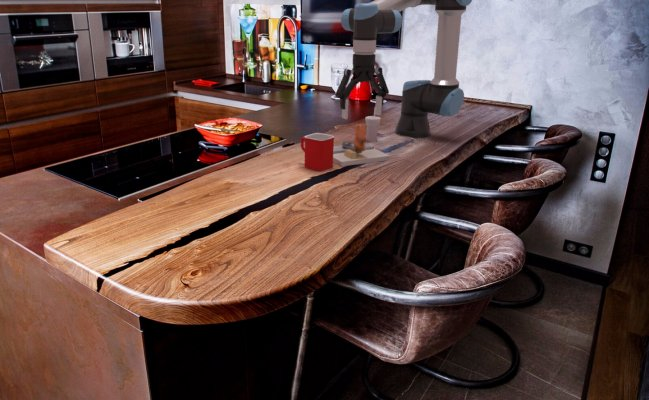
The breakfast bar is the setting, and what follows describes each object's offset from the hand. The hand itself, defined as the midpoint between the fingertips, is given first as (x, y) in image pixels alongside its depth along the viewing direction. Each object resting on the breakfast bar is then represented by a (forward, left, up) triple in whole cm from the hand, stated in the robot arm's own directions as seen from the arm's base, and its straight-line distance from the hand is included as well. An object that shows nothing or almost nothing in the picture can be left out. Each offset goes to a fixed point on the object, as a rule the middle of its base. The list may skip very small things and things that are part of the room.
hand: (361, 116), depth 171 cm
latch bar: (0, -4, -13) cm, 14 cm away
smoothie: (-20, -22, -16) cm, 34 cm away
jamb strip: (-1, -10, -16) cm, 19 cm away
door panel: (-1, -1, -16) cm, 16 cm away
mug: (+18, -1, -16) cm, 24 cm away
